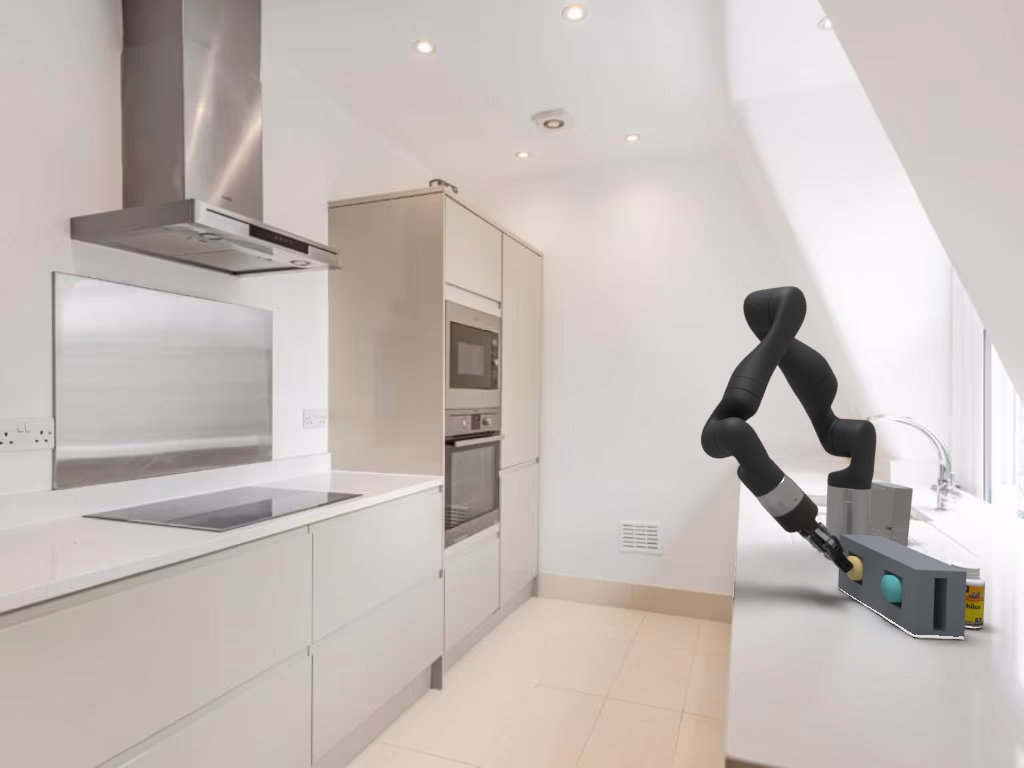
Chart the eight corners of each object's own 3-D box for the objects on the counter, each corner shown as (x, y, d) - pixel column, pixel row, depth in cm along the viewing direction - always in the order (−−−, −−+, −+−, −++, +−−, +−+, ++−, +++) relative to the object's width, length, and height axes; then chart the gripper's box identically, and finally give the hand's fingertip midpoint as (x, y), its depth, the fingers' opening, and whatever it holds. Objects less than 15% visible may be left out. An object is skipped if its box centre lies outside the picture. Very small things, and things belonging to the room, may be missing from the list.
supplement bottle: (945, 625, 105) (947, 565, 105) (941, 615, 110) (943, 558, 110) (986, 633, 103) (988, 571, 103) (980, 622, 107) (982, 563, 108)
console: (913, 638, 99) (916, 569, 99) (837, 589, 123) (839, 534, 123) (964, 640, 99) (966, 571, 99) (878, 591, 123) (880, 535, 123)
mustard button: (857, 583, 115) (858, 559, 115) (845, 576, 120) (845, 553, 120) (874, 583, 115) (875, 560, 115) (861, 576, 119) (862, 553, 119)
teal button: (895, 605, 103) (896, 579, 103) (880, 597, 108) (881, 571, 108) (915, 606, 103) (915, 580, 103) (899, 597, 107) (899, 572, 107)
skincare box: (863, 539, 168) (865, 481, 168) (883, 538, 170) (885, 481, 170) (890, 547, 160) (892, 486, 160) (911, 546, 162) (913, 486, 162)
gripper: (816, 494, 111) (882, 565, 111) (785, 482, 124) (844, 546, 124) (785, 522, 111) (851, 593, 111) (757, 508, 124) (817, 571, 124)
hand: (847, 568), depth 117 cm, fingers closed
